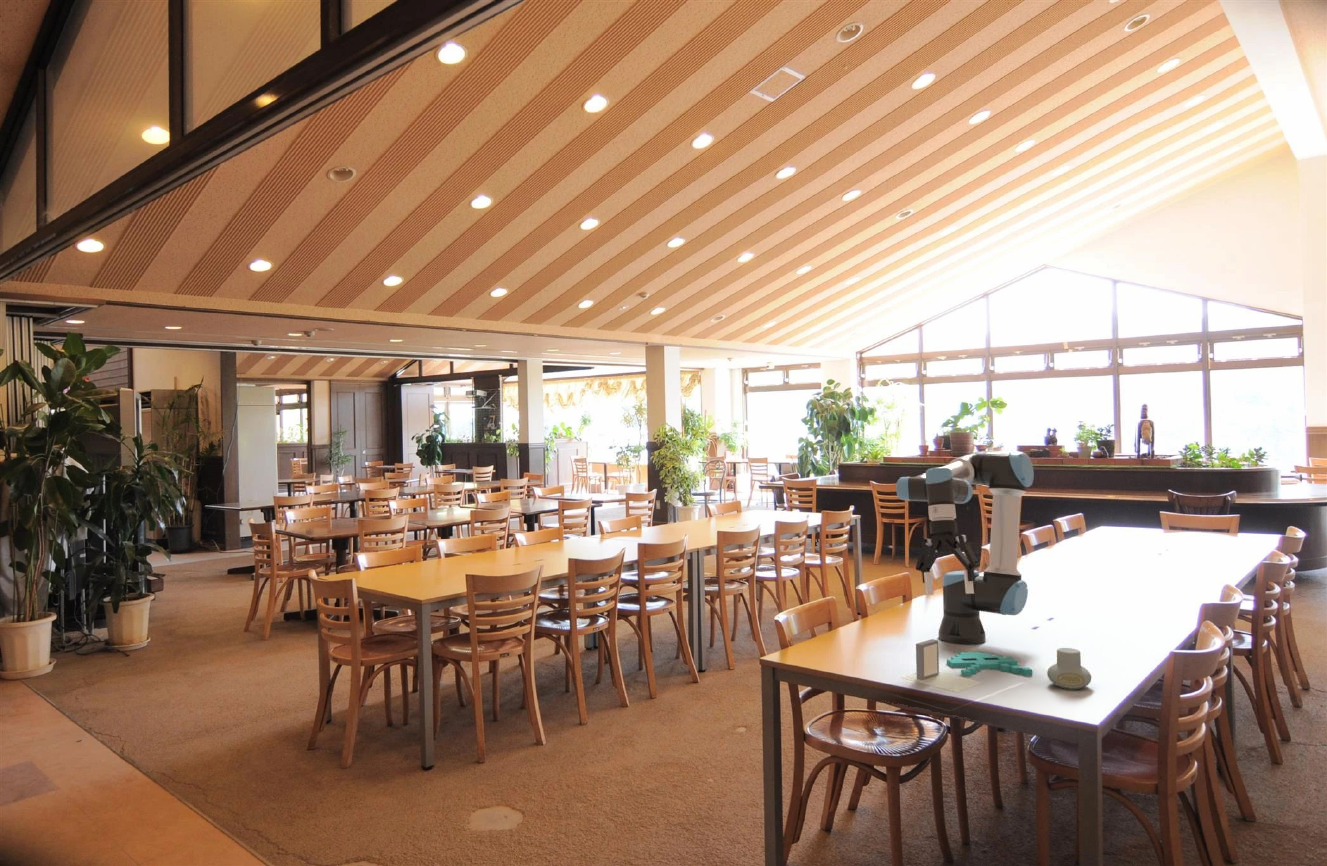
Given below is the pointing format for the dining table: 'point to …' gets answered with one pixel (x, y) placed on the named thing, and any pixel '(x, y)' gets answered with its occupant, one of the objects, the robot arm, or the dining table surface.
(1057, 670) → the air freshener
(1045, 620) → the dining table surface
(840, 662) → the dining table surface
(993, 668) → the alien figure
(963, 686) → the felt mat
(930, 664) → the slate tile
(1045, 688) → the dining table surface
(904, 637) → the dining table surface
